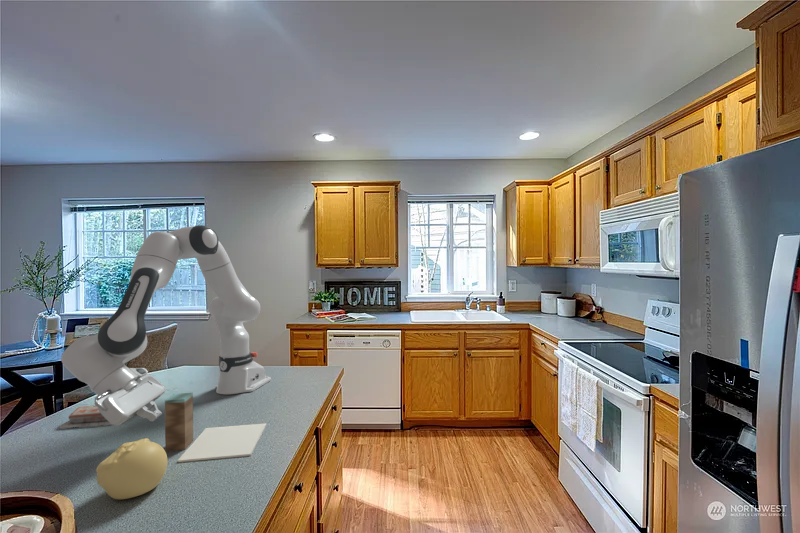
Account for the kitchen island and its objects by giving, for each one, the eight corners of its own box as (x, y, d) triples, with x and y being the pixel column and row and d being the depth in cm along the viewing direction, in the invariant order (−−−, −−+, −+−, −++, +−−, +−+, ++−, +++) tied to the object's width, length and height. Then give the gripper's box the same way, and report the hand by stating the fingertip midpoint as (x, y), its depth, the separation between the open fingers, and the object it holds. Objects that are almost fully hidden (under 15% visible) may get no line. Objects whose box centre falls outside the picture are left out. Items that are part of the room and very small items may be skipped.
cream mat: (177, 462, 89) (177, 460, 89) (206, 429, 106) (206, 428, 106) (250, 455, 91) (250, 453, 91) (266, 424, 109) (266, 423, 109)
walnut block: (165, 451, 94) (164, 400, 94) (174, 442, 99) (174, 393, 99) (185, 449, 95) (184, 399, 95) (193, 440, 100) (192, 392, 100)
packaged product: (139, 399, 121) (121, 411, 111) (139, 412, 121) (121, 426, 111) (81, 402, 118) (57, 415, 108) (82, 416, 118) (57, 430, 108)
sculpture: (130, 474, 84) (129, 430, 84) (178, 474, 83) (177, 430, 83) (86, 507, 72) (85, 456, 72) (141, 507, 72) (140, 456, 72)
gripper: (100, 390, 85) (144, 426, 86) (148, 366, 105) (182, 395, 106) (80, 409, 84) (124, 445, 86) (132, 381, 104) (167, 411, 106)
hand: (157, 417), depth 96 cm, fingers closed
